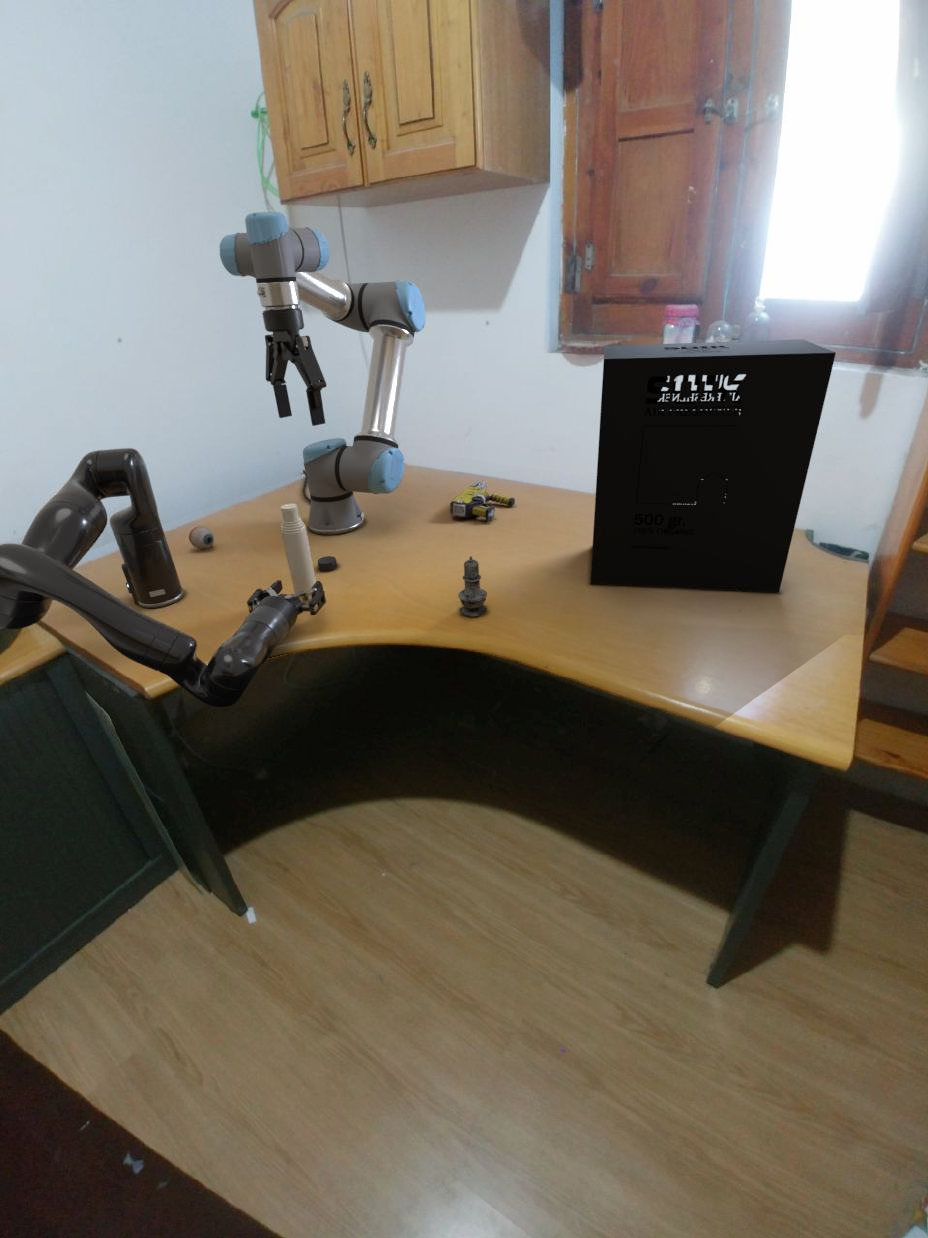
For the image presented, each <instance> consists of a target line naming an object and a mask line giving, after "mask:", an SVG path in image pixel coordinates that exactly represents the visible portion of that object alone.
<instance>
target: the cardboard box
mask: <svg viewBox="0 0 928 1238" xmlns="http://www.w3.org/2000/svg"><path fill="white" fill-rule="evenodd" d="M603 351H604V352H603V365H602V367H603V368H602V384H601V385H602V386H601V399H600V413H599V415H600V417H599V418H600V419H599V433H598V448H597V449H598V450H597V466H596V483H595V498H594V499H595V500H594V514H593V515H594V517H593V531H592V532H593V533H592V534H593V535H592V548H591V566H590V567H591V568H590V585H603V586H605V585H606V586H624V587H625V586H626V587H627V586H628V587H645V588H646V587H649V588H667V589H668V588H669V589H670V588H671V589H688V590H689V589H692V590H713V591H731V592H733V591H734V592H735V591H736V592H755V593H756V592H757V593H776V594H777V593H778V594H779V593H780V589H781V586H782V581H783V577H784V574H785V573H784V572H785V569H786V565H787V560H788V558H789V557H788V556H789V552H790V547H791V545H792V544H791V543H792V540H793V535H794V531H795V526H796V522H797V519H798V515H799V510H800V505H801V502H802V498H803V494H804V490H805V484H806V481H807V476H808V472H809V468H810V463H811V459H812V455H813V452H814V448H815V441H816V439H817V434H818V430H819V425H820V420H821V417H822V413H823V409H824V406H825V405H824V404H825V401H826V396H827V392H828V388H829V383H830V380H831V375H832V371H833V367H834V363H835V358H836V354H837V353H836V352H835V351H833V350H830V349H828V348H826V347H823V346H821V345H818V344H815V343H813V342H811V341H808V340H806V339H804V338H803V339H774V340H745V341H744V340H742V341H718V342H717V341H714V342H713V341H711V342H708V341H707V342H684V343H683V342H682V343H681V342H680V343H679V342H678V343H649V344H647V343H646V344H619V345H617V344H616V345H604V349H603ZM740 375H742V376H743V375H745V376H744V377H743V378H742V379H737V378H738V376H740ZM680 376H682V380H681V382H680V388H679V390H676V386H677V380H676V379H677V377H680ZM690 376H694V383H693V382H692V381H693V380H689V379H690ZM704 376H706V380H703V378H704ZM721 378H722V379H721ZM726 378H727V382H726V386H727V387H731V386H737V387H736V388H735V389H726V388H725V381H726ZM720 384H721V385H720ZM693 386H696V389H692V387H693ZM706 386H711V389H709V390H708V389H705V388H706ZM663 388H667V390H663Z"/></svg>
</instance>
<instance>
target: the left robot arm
mask: <svg viewBox="0 0 928 1238" xmlns="http://www.w3.org/2000/svg"><path fill="white" fill-rule="evenodd" d="M150 478H151V477H150V475H149V471H148V467H147V464H146V462H145V460H144V457H143V456H142V454H141V453H140V452H139V451H138V450H137V449H135V448H133V447H121V448H108V449H98V450H92V451H90V452H88V453H86V454H85V455H84V456H83V457H82V459H80V461H79V463H78V464H77V467H76V468H75V469H74V471H73V472H72V474H71V476H70V477H69V478H68V480H67V481H66V482H65V483H64V485H63V486H62V487H61V488H60V489H59V490H58V491H57V492H56V493H55V494H54V495H53V496H52V497H51V498H50V499H49V500H48V501H47V502H46V503H45V504H44V505H43V506H42V507H41V508H40V510H38V512H37V514H36V515H35V517H34V518H33V520H32V521H31V524H30V525H29V526H28V528H27V531H26V533H25V535H24V537H23V539H22V541H21V543H13V542H11V543H9V542H8V543H1V544H0V630H21V629H25V628H28V627H31V626H32V625H35V624H38V623H39V621H41V620H42V619H44V617H45V616H46V615H47V614H48V612H49V610H50V608H51V606H52V603H53V601H55V602H58V603H60V604H62V605H63V606H66V607H68V608H69V609H70V610H73V611H74V612H75V613H76V614H78V615H79V616H81V617H82V618H83V619H84V620H85V621H86V622H88V624H90V626H92V627H93V628H94V629H95V631H97V632H98V633H99V634H100V635H101V636H102V638H103V639H104V640H105V641H106V642H107V643H108V644H109V645H110V646H111V647H112V648H113V649H114V650H115V651H116V652H118V653H119V654H121V655H122V656H124V657H125V658H127V659H128V660H130V661H132V662H135V663H137V664H139V665H141V666H144V667H146V668H148V669H151V670H153V671H156V672H158V673H161V674H162V675H165V676H167V677H168V678H170V679H171V680H172V681H173V682H175V683H176V684H177V685H179V686H180V687H181V688H182V689H184V690H185V691H186V692H188V693H189V694H190V695H192V697H194V698H195V699H197V700H199V701H200V702H202V703H204V704H206V705H208V706H212V707H217V708H227V707H228V708H229V707H231V706H233V705H235V704H236V703H238V701H240V699H241V697H242V695H243V694H244V692H245V691H246V689H247V687H248V686H249V684H250V683H251V682H252V680H253V678H254V677H255V675H256V674H257V672H258V670H259V669H260V667H261V666H262V665H263V664H264V663H265V662H266V661H267V660H268V658H270V656H271V655H272V653H273V652H274V651H275V649H276V648H277V647H278V646H280V645H281V643H282V642H283V640H284V639H285V638H286V636H287V635H288V634H289V632H290V631H291V630H292V628H293V627H294V625H295V624H296V622H297V619H298V616H299V615H300V614H302V613H304V612H309V614H310V616H315V615H318V613H319V612H320V610H321V609H322V608H323V607H324V606H325V605H326V603H327V599H326V594H325V592H326V591H325V590H324V585H323V582H321V580H316V582H315V584H314V585H313V586H312V588H311V590H308V591H306V592H305V591H303V590H302V591H300V592H297V593H289V594H287V593H281V592H282V591H283V589H284V588H283V587H284V586H283V583H282V580H281V579H277V580H276V581H274V582H273V583H272V584H271V585H270V586H269V587H266V588H265V589H262V588H256V589H255V591H254V592H253V593H252V594H251V595H250V597H249V598H248V599H247V600H246V604H247V609H248V612H249V614H248V615H247V616H246V617H245V619H244V620H243V622H242V624H241V626H240V627H238V629H237V630H236V631H235V632H234V633H233V635H232V636H231V637H230V638H228V639H227V640H226V641H225V642H223V643H221V645H220V646H219V647H218V648H217V649H216V651H214V653H213V655H212V656H211V657H210V658H209V659H210V660H209V661H208V663H205V662H204V661H203V660H201V658H200V657H198V656H197V651H198V650H197V649H198V642H197V640H196V638H195V637H193V636H191V635H189V634H188V633H185V632H183V631H181V630H179V629H177V628H175V627H172V626H170V625H168V624H166V623H164V622H162V621H159V620H158V619H155V618H153V617H151V616H149V615H147V614H145V613H143V612H141V611H140V610H137V609H136V608H134V607H132V606H130V605H128V603H125V602H123V601H122V600H121V599H119V598H117V596H114V595H113V594H111V593H110V592H108V591H107V590H105V589H103V588H102V587H101V586H100V585H98V584H97V583H95V582H93V581H92V580H91V579H89V578H87V577H85V576H84V575H82V574H81V573H79V572H77V571H76V570H74V569H75V567H76V566H77V565H78V564H79V563H80V562H81V561H82V559H83V558H84V557H85V556H86V555H87V553H88V552H89V551H90V550H91V548H92V547H93V546H95V544H96V542H97V541H98V540H99V538H100V537H101V536H102V534H103V532H104V531H105V529H106V527H107V524H108V513H107V510H106V506H105V505H104V503H103V502H102V500H104V499H109V498H115V497H116V498H117V497H129V499H130V505H129V506H127V507H125V508H122V509H121V510H119V511H116V512H115V513H113V514H112V515H111V516H110V517H109V525H110V528H111V531H112V532H113V536H114V539H115V541H116V544H117V546H118V549H119V553H120V556H121V558H122V559H123V560H122V561H123V563H122V564H121V566H120V567H121V569H122V572H123V575H124V578H125V580H126V583H125V585H126V589H127V591H128V593H129V594H130V595H131V597H132V599H133V602H134V604H135V605H137V606H138V605H139V606H140V607H142V608H144V609H158V608H163V607H166V606H170V605H172V604H174V603H176V602H178V601H179V600H181V599H182V598H183V597H184V594H185V591H184V588H183V586H182V584H181V581H180V578H179V574H178V571H177V568H176V566H175V565H176V564H175V562H174V560H173V556H172V553H171V550H170V546H169V544H168V541H167V537H166V534H165V532H164V528H163V525H162V522H161V519H160V516H159V511H158V506H157V501H156V498H155V494H154V491H153V487H152V483H151V479H150ZM309 595H311V596H312V598H311V599H308V596H309ZM301 596H302V600H303V603H302V601H301V600H300V598H299V597H301Z"/></svg>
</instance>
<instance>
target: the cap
mask: <svg viewBox="0 0 928 1238" xmlns="http://www.w3.org/2000/svg"><path fill="white" fill-rule="evenodd" d="M337 562H338V561H337V559H336V557H335V556H333V555H332V556H331V555H326V556H322V557H320V558H318V559H317V567H318V570H319V571H320V572H325V573H326V572H332V571H335V570H336V569H337V568H338V563H337Z"/></svg>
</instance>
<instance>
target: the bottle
mask: <svg viewBox="0 0 928 1238" xmlns="http://www.w3.org/2000/svg"><path fill="white" fill-rule="evenodd" d="M280 512H281V515H282V520H281V521H282V522H281V527H280V533H281V537H282V542H283V547H284V552H285V556H286V561H287V565H288V570H289V574H290V579H291V583H292V588H293V594H295V593H297V592H300V591H302V590H303V591H305V592H306V591H308V590H311V588H312V586H313V585H314V584H315V582H316V581H317V578H316V577H317V576H316V573H315V572H316V571H315V567H314V562H313V561H314V560H313V556H312V552H311V547H310V541H309V536H308V531H307V526H306V524H305V523H304V521H303V519H302V518H301V516H300V514H299V510H298V505H297V504H296V503H286V504H283V505H281V506H280ZM299 598H300V600H301V601H302V603H303V600H302V596H301V597H299ZM311 598H312V596H311V595H309V596H308V599H311Z"/></svg>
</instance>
